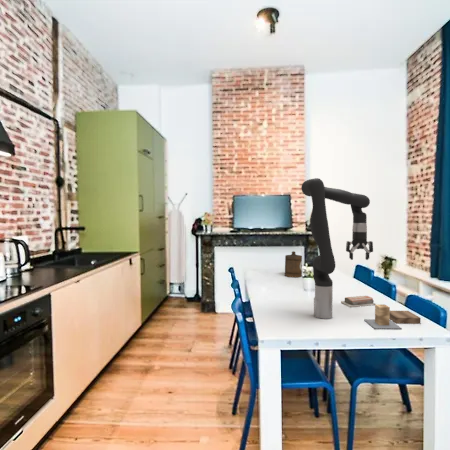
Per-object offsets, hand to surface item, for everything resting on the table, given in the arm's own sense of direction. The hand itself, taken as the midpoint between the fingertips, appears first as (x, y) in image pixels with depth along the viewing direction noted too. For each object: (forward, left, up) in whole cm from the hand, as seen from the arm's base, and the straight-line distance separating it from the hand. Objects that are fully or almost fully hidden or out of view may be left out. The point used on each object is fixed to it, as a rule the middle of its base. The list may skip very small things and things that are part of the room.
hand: (359, 259), depth 186 cm
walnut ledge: (+18, -13, -30) cm, 37 cm away
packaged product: (+6, +16, -31) cm, 35 cm away
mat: (+4, -21, -30) cm, 37 cm away
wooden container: (-19, +106, -30) cm, 112 cm away
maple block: (+4, -21, -30) cm, 36 cm away
